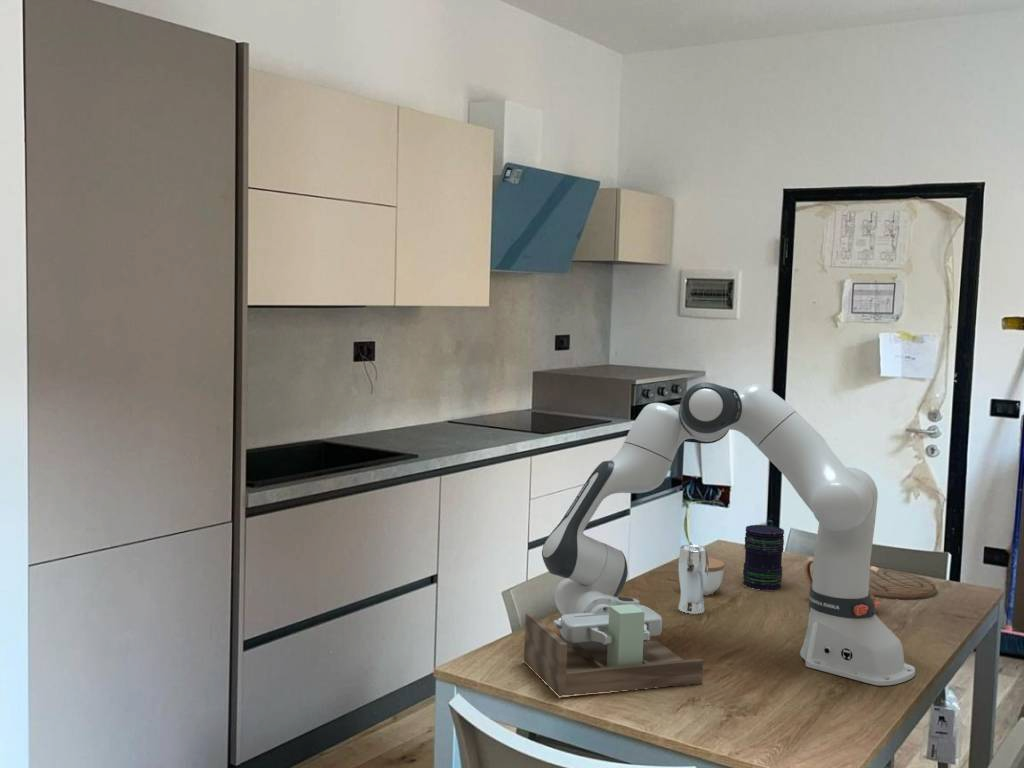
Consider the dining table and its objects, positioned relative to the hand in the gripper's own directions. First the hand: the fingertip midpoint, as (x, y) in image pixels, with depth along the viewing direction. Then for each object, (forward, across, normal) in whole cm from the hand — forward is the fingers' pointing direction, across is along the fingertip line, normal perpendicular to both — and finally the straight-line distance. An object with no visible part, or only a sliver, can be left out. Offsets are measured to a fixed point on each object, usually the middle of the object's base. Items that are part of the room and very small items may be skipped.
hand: (627, 638), depth 191 cm
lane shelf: (-5, 0, +8) cm, 10 cm away
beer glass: (-38, +35, +9) cm, 52 cm away
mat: (-21, 0, +8) cm, 23 cm away
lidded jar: (-51, +45, +9) cm, 69 cm away
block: (-1, 0, +6) cm, 7 cm away
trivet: (-45, +96, +9) cm, 107 cm away
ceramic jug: (-32, +72, +9) cm, 79 cm away
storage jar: (-52, +64, +9) cm, 83 cm away
